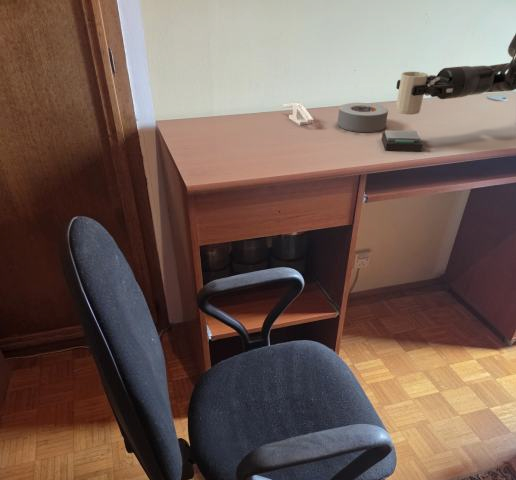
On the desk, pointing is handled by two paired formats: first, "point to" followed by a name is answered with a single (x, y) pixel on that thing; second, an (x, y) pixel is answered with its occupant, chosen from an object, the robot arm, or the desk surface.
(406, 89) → the cup
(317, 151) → the desk surface
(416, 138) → the scale
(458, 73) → the robot arm
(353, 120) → the tape roll
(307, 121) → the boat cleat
